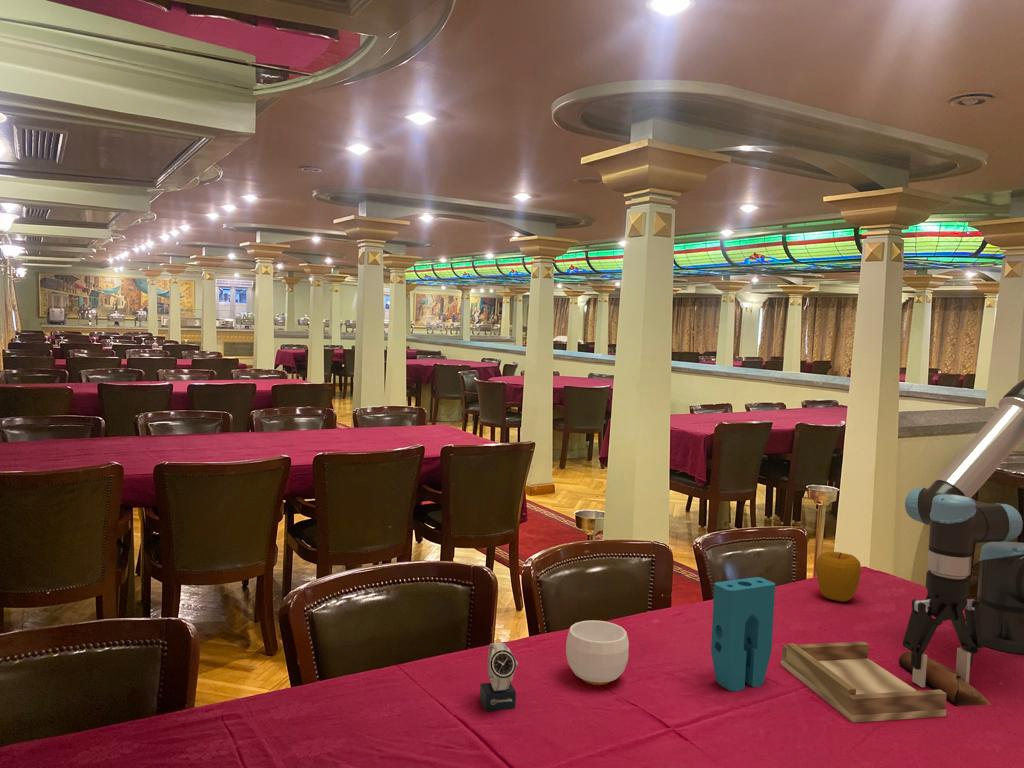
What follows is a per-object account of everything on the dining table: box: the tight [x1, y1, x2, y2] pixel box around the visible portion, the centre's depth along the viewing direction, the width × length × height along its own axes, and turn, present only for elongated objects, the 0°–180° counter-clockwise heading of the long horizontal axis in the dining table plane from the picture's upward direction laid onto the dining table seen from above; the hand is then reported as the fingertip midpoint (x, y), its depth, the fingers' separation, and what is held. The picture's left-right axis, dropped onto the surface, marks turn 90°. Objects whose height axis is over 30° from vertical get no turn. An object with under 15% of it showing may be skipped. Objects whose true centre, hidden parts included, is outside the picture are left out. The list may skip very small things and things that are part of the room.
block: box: [710, 576, 776, 692], centre depth 148 cm, size 12×5×20 cm, turn 115°
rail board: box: [780, 641, 947, 723], centre depth 147 cm, size 19×24×5 cm
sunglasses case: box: [898, 651, 992, 707], centre depth 151 cm, size 18×7×7 cm
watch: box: [479, 642, 519, 712], centre depth 136 cm, size 6×8×11 cm
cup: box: [565, 619, 630, 686], centre depth 148 cm, size 12×12×10 cm
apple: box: [815, 551, 862, 602], centre depth 199 cm, size 11×11×13 cm
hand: (940, 682), depth 151 cm, fingers open, 9 cm apart
